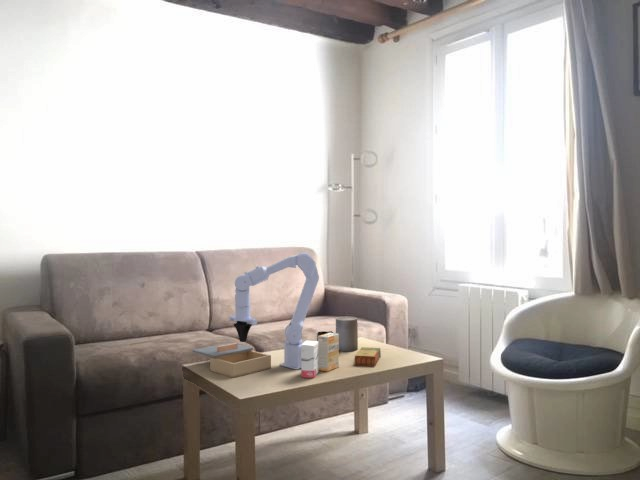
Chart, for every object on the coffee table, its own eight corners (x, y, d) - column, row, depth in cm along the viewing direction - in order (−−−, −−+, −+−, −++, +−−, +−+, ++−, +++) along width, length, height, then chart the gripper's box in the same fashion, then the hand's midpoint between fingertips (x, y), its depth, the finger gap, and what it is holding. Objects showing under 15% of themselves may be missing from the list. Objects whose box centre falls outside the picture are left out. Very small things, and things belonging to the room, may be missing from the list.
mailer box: (270, 368, 213) (270, 355, 213) (232, 377, 200) (232, 363, 200) (247, 362, 222) (247, 349, 222) (210, 370, 210) (210, 357, 209)
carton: (354, 366, 218) (354, 355, 218) (361, 356, 234) (361, 346, 234) (375, 367, 216) (375, 356, 216) (380, 357, 232) (380, 347, 232)
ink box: (314, 378, 199) (314, 345, 199) (300, 377, 200) (300, 344, 200) (318, 372, 208) (318, 340, 207) (306, 371, 209) (306, 339, 208)
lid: (252, 349, 220) (252, 342, 220) (214, 358, 207) (214, 350, 207) (230, 344, 230) (230, 337, 230) (192, 351, 217) (192, 344, 217)
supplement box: (328, 372, 208) (328, 337, 207) (317, 370, 210) (317, 335, 210) (339, 367, 215) (339, 333, 214) (328, 365, 217) (328, 332, 217)
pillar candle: (356, 346, 251) (356, 313, 251) (359, 351, 241) (358, 316, 241) (334, 346, 251) (334, 313, 250) (336, 351, 241) (336, 317, 240)
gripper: (222, 305, 217) (223, 340, 217) (246, 309, 207) (247, 345, 207) (237, 303, 222) (237, 337, 222) (261, 307, 212) (261, 342, 212)
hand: (243, 341), depth 215 cm, fingers closed
